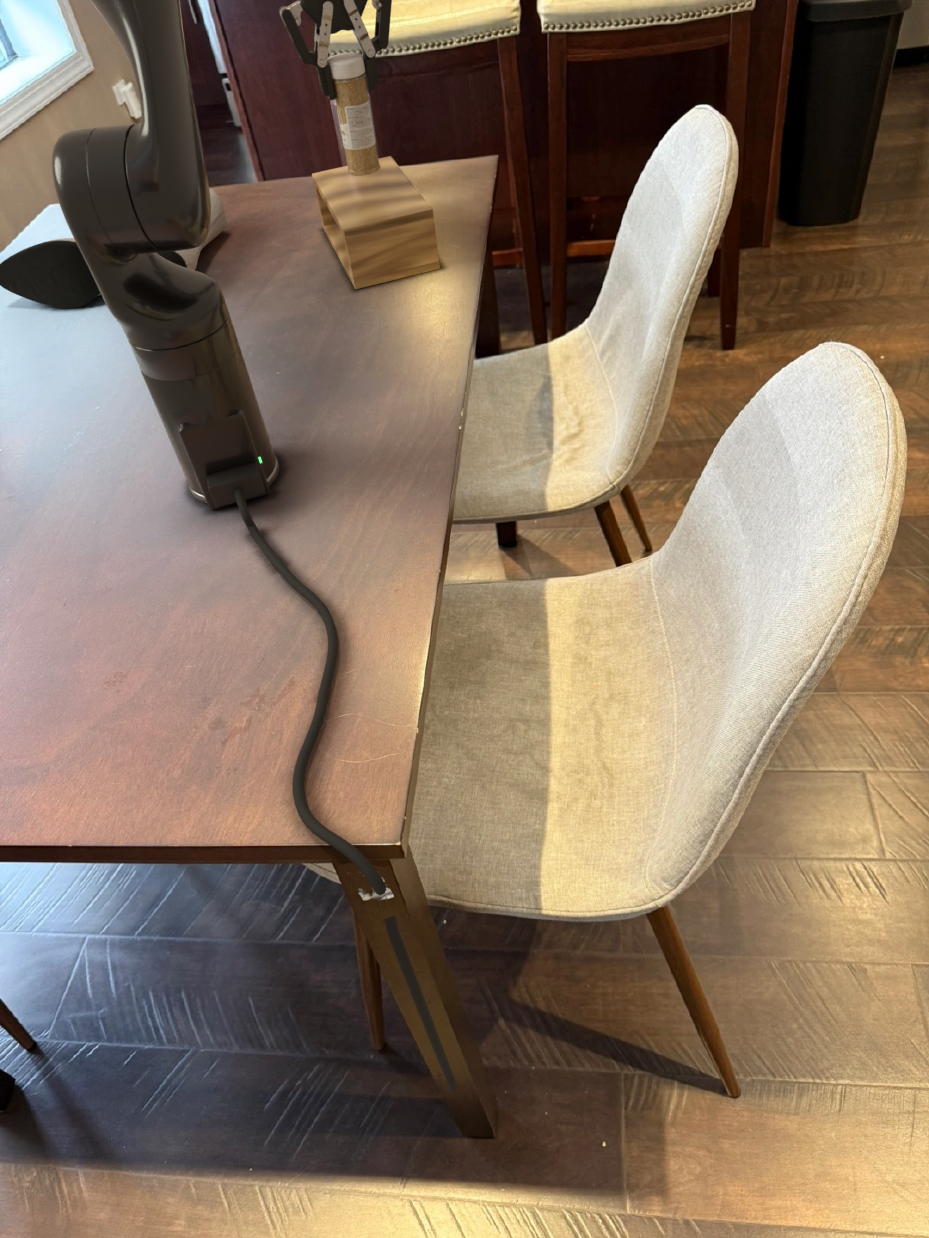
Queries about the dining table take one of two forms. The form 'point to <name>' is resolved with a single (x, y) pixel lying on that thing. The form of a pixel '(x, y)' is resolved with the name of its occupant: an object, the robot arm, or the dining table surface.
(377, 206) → the box
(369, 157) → the sprinkles bottle
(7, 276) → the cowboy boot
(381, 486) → the dining table surface
